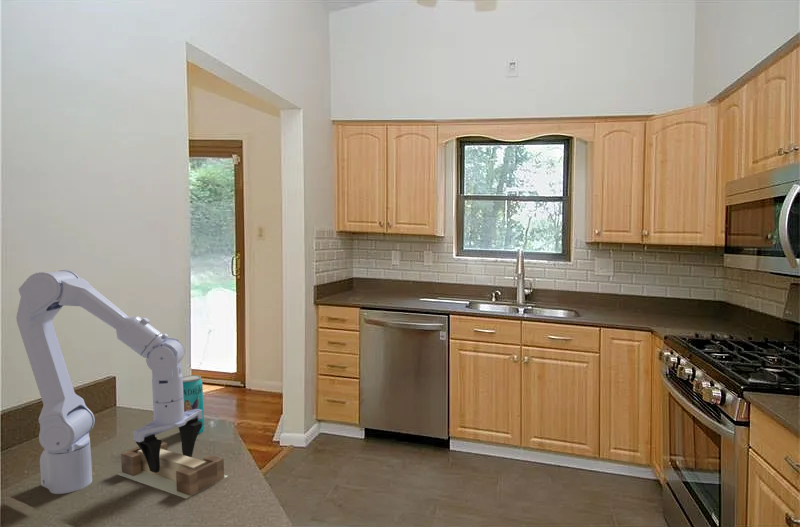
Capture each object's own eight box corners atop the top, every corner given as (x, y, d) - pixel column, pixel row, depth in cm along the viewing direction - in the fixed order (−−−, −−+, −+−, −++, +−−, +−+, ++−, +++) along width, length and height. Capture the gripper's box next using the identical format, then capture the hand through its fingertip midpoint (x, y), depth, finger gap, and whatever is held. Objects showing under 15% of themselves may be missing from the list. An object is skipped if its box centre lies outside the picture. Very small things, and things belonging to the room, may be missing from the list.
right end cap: (176, 491, 96) (175, 470, 96) (211, 474, 103) (210, 455, 103) (190, 495, 94) (189, 475, 94) (224, 478, 101) (223, 458, 101)
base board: (117, 478, 104) (117, 474, 104) (161, 460, 113) (160, 455, 113) (186, 503, 93) (185, 498, 93) (228, 480, 102) (228, 475, 102)
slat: (138, 469, 106) (137, 450, 106) (151, 463, 109) (150, 445, 109) (194, 487, 97) (193, 467, 97) (207, 481, 100) (206, 461, 100)
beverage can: (178, 441, 124) (175, 381, 123) (182, 433, 129) (179, 376, 129) (203, 438, 125) (200, 379, 125) (205, 430, 131) (203, 373, 130)
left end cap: (121, 472, 105) (120, 453, 105) (156, 457, 112) (155, 440, 112) (133, 476, 103) (132, 457, 103) (168, 460, 110) (167, 443, 110)
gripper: (147, 412, 94) (151, 482, 95) (210, 391, 107) (213, 453, 107) (125, 407, 98) (128, 475, 98) (189, 387, 110) (191, 447, 111)
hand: (171, 463), depth 103 cm, fingers open, 7 cm apart
